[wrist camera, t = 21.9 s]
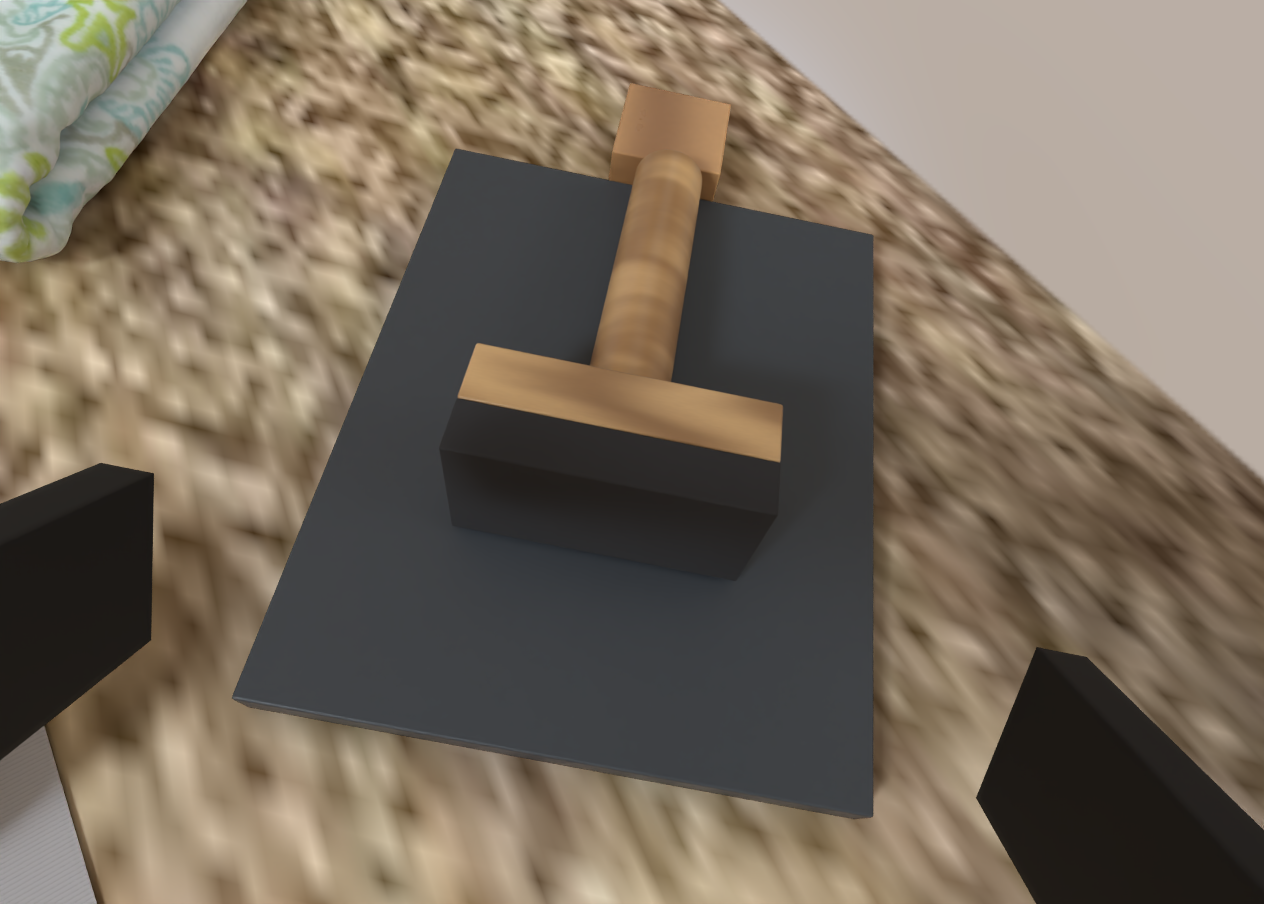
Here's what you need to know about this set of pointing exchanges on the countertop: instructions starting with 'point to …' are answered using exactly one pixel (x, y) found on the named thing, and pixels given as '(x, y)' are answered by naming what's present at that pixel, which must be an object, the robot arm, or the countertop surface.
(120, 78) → the towel
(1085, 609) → the countertop surface
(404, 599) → the serving tray
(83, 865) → the stacked layers on plate
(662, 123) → the wooden square block
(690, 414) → the scrub brush
